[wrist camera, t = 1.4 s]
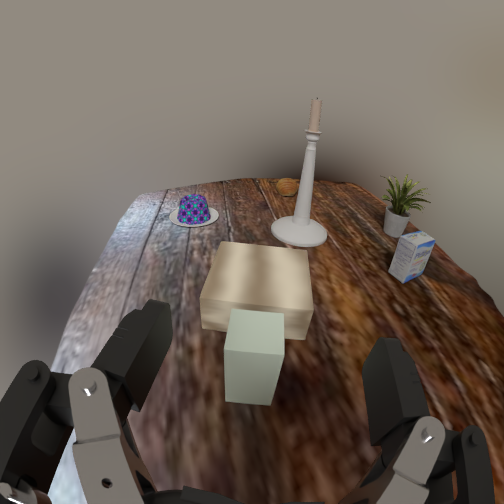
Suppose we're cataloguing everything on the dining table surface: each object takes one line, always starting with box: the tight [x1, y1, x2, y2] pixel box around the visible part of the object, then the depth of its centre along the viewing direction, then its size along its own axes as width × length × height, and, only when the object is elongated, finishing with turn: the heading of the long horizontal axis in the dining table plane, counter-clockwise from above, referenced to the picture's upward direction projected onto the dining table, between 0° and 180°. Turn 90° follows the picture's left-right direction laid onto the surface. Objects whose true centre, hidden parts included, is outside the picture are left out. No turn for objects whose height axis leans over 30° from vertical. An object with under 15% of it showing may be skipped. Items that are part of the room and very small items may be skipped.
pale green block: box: [224, 309, 284, 406], centre depth 26 cm, size 5×5×10 cm
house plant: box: [382, 175, 430, 237], centre depth 61 cm, size 14×14×16 cm
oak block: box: [200, 241, 313, 340], centre depth 40 cm, size 14×14×6 cm
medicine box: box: [388, 231, 435, 283], centre depth 48 cm, size 8×4×9 cm, turn 115°
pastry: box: [276, 178, 298, 196], centre depth 83 cm, size 9×7×4 cm
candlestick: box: [271, 99, 327, 247], centre depth 54 cm, size 13×13×30 cm
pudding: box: [169, 194, 219, 227], centre depth 64 cm, size 12×12×5 cm
